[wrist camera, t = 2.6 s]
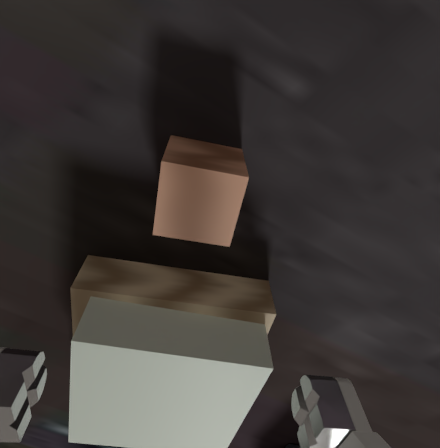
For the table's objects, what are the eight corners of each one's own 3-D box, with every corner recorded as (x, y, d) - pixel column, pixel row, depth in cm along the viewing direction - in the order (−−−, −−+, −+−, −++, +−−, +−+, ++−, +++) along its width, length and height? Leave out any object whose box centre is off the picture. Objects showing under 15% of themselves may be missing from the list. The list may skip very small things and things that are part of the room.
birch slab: (267, 276, 29) (276, 314, 26) (229, 376, 38) (231, 416, 34) (90, 251, 27) (70, 288, 23) (90, 363, 36) (76, 403, 32)
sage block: (265, 324, 26) (273, 368, 23) (221, 412, 33) (222, 455, 30) (90, 296, 24) (71, 340, 21) (83, 396, 31) (68, 442, 28)
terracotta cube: (241, 148, 22) (249, 177, 18) (226, 209, 25) (229, 246, 21) (171, 134, 22) (161, 161, 17) (162, 198, 24) (152, 234, 20)
